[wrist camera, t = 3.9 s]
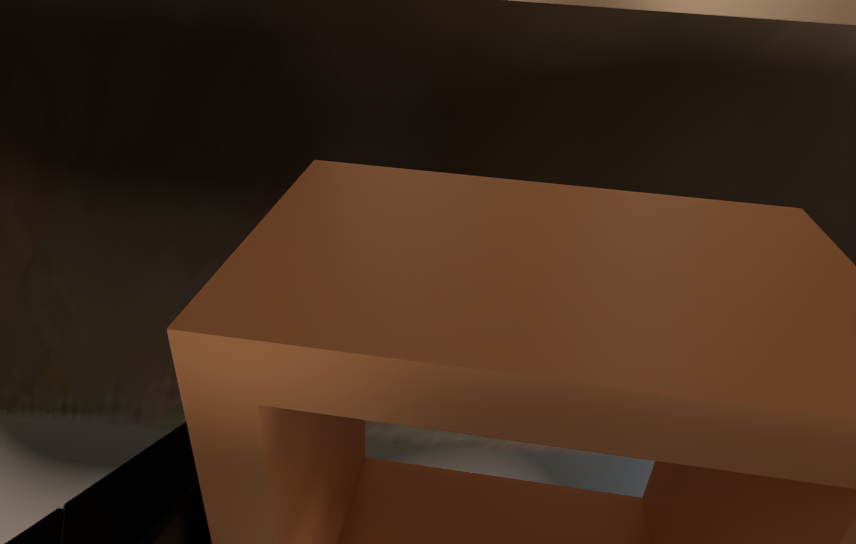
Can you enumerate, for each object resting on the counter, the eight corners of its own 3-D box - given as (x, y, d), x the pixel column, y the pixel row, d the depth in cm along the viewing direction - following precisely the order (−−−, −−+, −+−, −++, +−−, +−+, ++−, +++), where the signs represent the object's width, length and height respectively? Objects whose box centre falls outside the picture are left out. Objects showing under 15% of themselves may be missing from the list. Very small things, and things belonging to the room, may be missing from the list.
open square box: (800, 207, 8) (1019, 439, 4) (673, 529, 11) (738, 805, 8) (314, 159, 8) (165, 329, 5) (329, 477, 12) (247, 711, 8)
